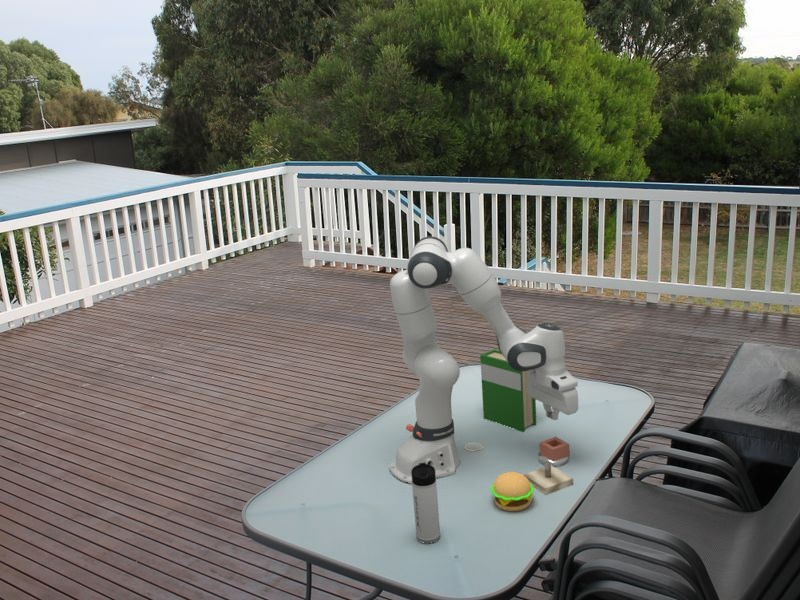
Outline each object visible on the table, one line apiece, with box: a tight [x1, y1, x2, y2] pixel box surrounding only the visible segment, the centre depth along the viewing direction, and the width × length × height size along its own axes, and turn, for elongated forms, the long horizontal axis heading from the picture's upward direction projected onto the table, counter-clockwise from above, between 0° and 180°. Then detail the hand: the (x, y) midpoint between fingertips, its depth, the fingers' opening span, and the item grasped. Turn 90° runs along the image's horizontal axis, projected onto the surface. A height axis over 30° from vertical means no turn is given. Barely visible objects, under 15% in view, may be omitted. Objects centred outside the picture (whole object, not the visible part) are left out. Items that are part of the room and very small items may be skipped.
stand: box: [523, 461, 574, 496], centre depth 216 cm, size 10×10×6 cm
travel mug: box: [411, 463, 441, 544], centre depth 192 cm, size 6×7×20 cm
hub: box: [537, 452, 569, 468], centre depth 229 cm, size 9×9×4 cm
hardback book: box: [479, 349, 537, 433], centre depth 256 cm, size 18×7×24 cm, turn 42°
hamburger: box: [489, 471, 535, 512], centre depth 207 cm, size 12×12×9 cm
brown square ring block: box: [539, 436, 570, 462], centre depth 229 cm, size 6×6×4 cm
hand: (552, 418), depth 226 cm, fingers closed
